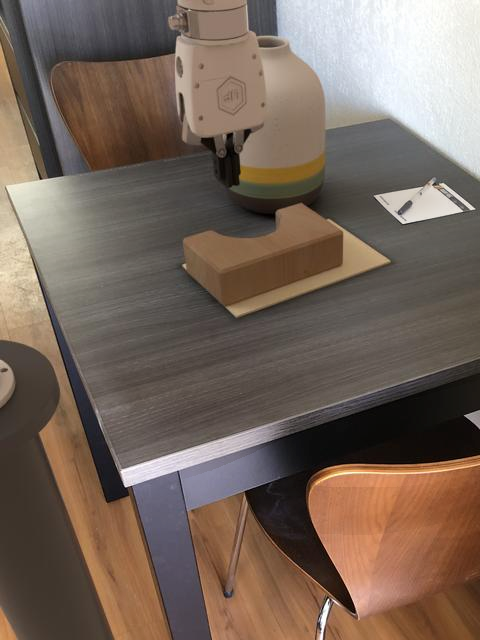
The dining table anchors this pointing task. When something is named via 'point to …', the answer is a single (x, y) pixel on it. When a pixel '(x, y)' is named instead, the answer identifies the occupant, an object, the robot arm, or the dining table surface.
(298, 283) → the felt mat
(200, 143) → the robot arm
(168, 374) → the dining table surface
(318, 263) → the decorative block
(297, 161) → the vase
